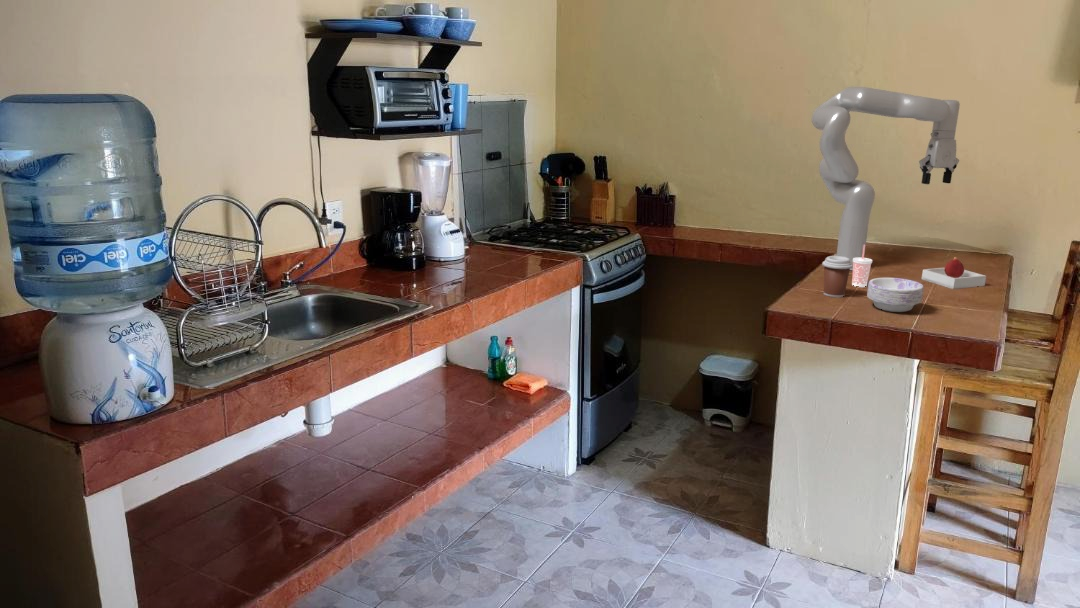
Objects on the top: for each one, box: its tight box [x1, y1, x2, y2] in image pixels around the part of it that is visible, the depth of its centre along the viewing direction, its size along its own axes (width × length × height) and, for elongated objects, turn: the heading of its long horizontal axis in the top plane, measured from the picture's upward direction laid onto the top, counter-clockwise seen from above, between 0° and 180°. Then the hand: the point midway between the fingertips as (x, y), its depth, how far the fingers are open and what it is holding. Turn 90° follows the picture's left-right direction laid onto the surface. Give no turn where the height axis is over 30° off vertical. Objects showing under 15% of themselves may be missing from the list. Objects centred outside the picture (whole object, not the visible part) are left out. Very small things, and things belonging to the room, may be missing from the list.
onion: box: [944, 256, 965, 278], centre depth 263 cm, size 6×6×8 cm
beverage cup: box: [851, 245, 873, 288], centre depth 258 cm, size 6×6×14 cm
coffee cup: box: [821, 255, 853, 298], centre depth 247 cm, size 9×9×12 cm
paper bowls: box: [866, 277, 924, 313], centre depth 233 cm, size 15×15×8 cm
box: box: [921, 267, 987, 290], centre depth 264 cm, size 14×14×4 cm
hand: (935, 183), depth 282 cm, fingers open, 9 cm apart
